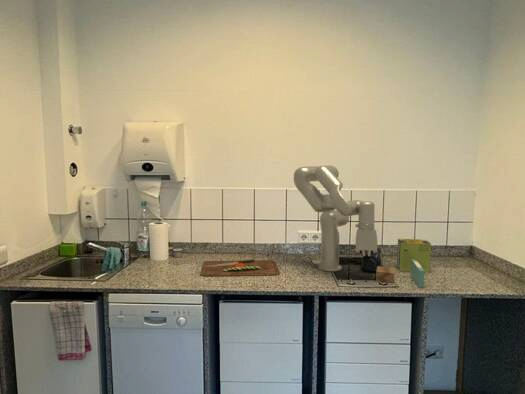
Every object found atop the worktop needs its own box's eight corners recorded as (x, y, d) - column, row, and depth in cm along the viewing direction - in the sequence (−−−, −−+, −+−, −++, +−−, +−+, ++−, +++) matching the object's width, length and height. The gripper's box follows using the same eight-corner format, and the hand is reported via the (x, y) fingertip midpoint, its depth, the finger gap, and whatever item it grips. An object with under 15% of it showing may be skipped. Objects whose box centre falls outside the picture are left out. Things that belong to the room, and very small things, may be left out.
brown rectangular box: (375, 281, 192) (376, 271, 192) (376, 275, 202) (377, 266, 201) (393, 283, 190) (393, 273, 189) (393, 277, 199) (393, 267, 199)
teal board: (419, 287, 183) (420, 270, 183) (410, 274, 203) (411, 259, 202) (423, 287, 183) (424, 270, 182) (414, 274, 203) (415, 259, 202)
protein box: (429, 273, 207) (431, 243, 205) (398, 271, 210) (400, 242, 208) (425, 267, 217) (427, 239, 215) (396, 265, 220) (397, 238, 218)
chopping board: (194, 278, 196) (194, 272, 196) (199, 263, 223) (199, 257, 222) (285, 276, 200) (285, 270, 199) (278, 262, 226) (278, 257, 226)
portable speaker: (380, 274, 204) (381, 255, 203) (360, 272, 207) (361, 253, 206) (382, 262, 227) (382, 244, 226) (364, 260, 230) (364, 243, 229)
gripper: (351, 227, 192) (351, 265, 193) (383, 228, 189) (382, 266, 191) (350, 225, 199) (350, 261, 201) (381, 225, 197) (381, 262, 198)
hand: (366, 263), depth 196 cm, fingers closed
